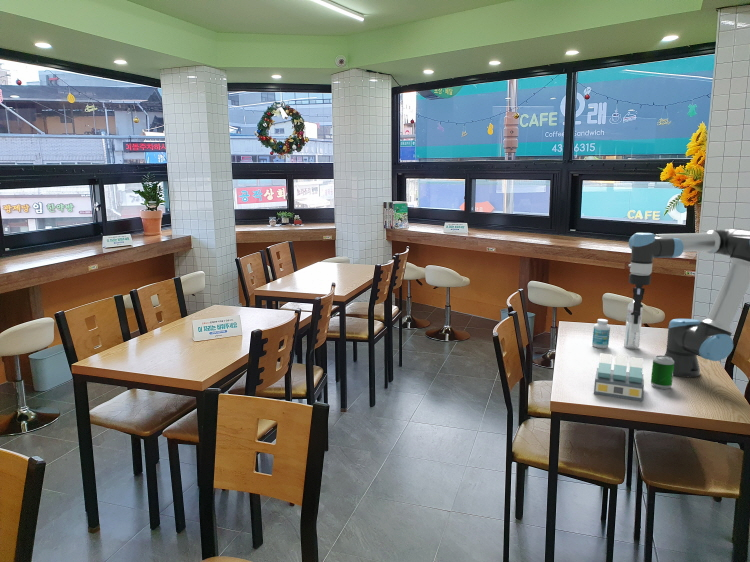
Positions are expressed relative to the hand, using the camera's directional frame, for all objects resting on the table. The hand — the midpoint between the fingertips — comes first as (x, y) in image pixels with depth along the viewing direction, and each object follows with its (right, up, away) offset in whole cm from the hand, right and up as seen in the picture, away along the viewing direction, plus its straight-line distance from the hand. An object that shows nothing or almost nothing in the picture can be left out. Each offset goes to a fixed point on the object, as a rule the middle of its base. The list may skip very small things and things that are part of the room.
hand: (635, 327), depth 221 cm
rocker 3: (-1, -17, -2) cm, 17 cm away
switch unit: (-6, -25, +1) cm, 26 cm away
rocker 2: (-6, -16, 0) cm, 18 cm away
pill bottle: (+10, -14, +59) cm, 62 cm away
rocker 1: (-11, -16, +2) cm, 19 cm away
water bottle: (+25, -15, +58) cm, 65 cm away
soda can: (+13, -24, +7) cm, 29 cm away
